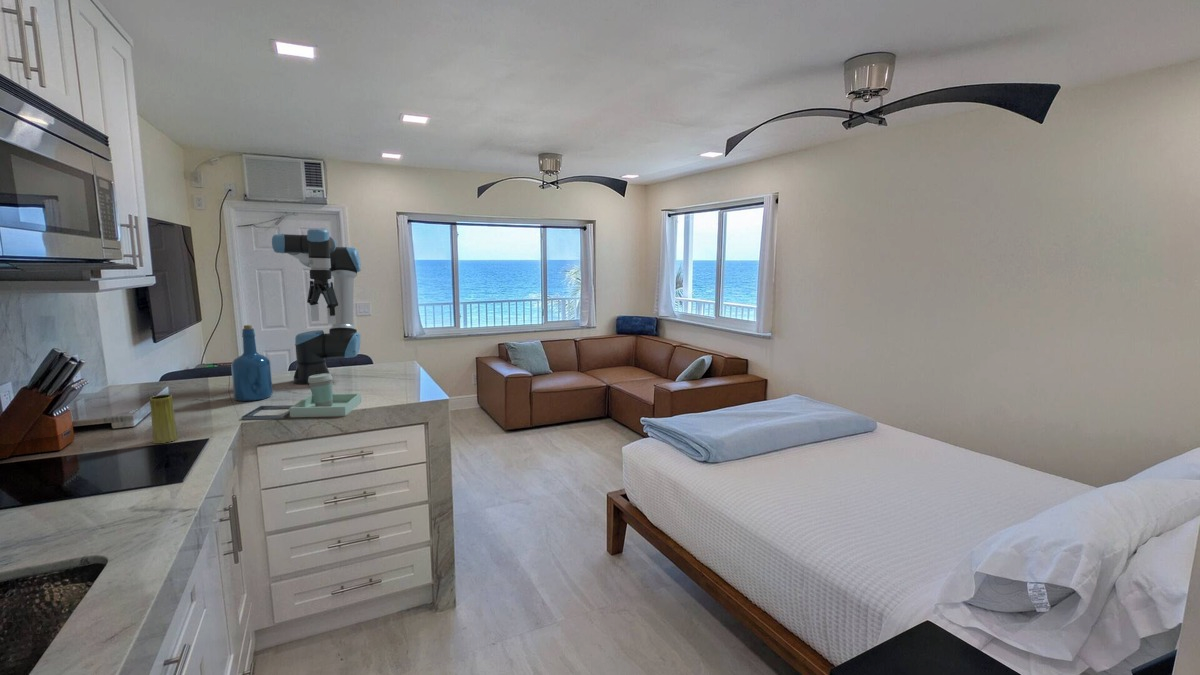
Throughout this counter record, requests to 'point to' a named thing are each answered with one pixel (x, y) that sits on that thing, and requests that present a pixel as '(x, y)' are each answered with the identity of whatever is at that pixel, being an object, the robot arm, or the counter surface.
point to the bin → (339, 407)
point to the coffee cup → (321, 389)
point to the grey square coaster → (249, 415)
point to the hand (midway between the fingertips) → (323, 322)
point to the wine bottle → (251, 371)
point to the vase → (163, 419)
